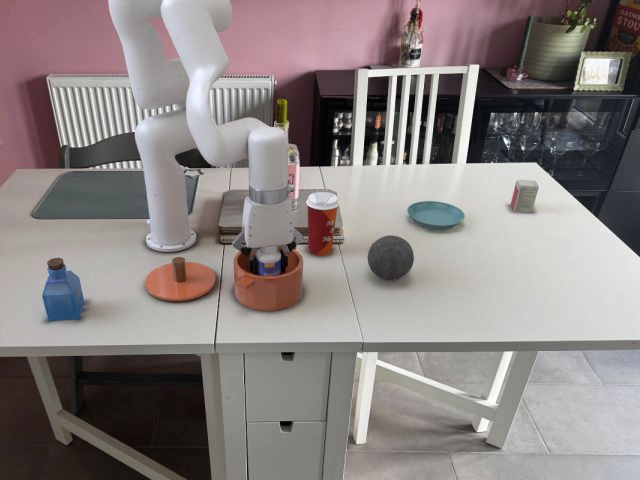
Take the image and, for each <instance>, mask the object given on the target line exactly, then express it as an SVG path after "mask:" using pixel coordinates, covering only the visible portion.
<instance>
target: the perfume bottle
mask: <svg viewBox="0 0 640 480" xmlns="http://www.w3.org/2000/svg"><path fill="white" fill-rule="evenodd" d="M46 264H47V268H46V269H47V273H48V274H49V275H48V276H47V279H46V282H45V284H44V287H43V291H42V294H41V297H42V302H43V305H44V309H45V313H46V317H47V321H48V322H55V321H71V320H74V321H75V320H80V318H81V316H82V312H83V309H84V305H85V297H84V293H83V289H82V283H81V279H80V277H79V276H78V275H77V274H76V273H74V272H73V271H72V270H67V265H66V264H65V263H64V259H63V258H62V257H54V258H53V257H52V258H51V259H49V260H47V262H46Z"/></svg>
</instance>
